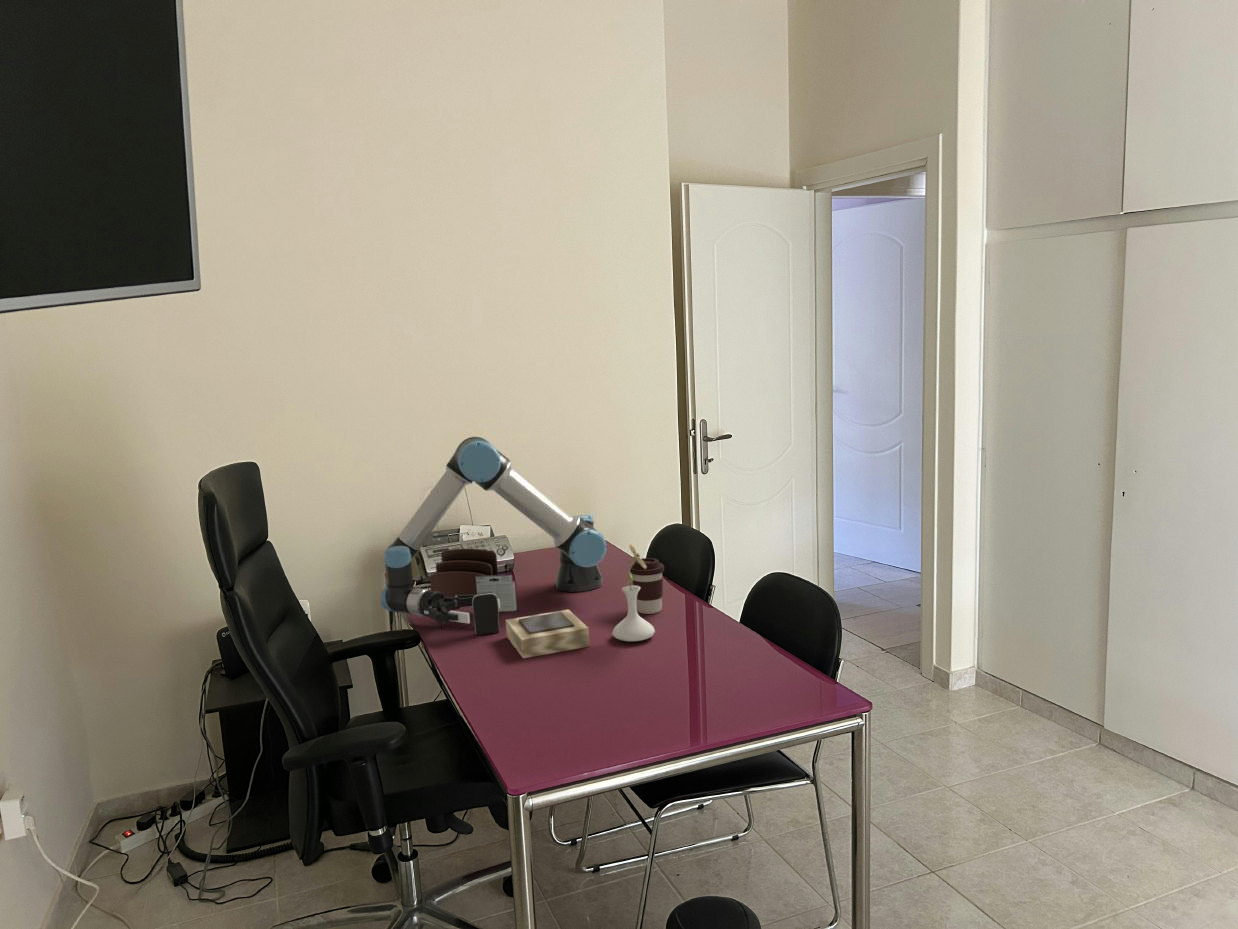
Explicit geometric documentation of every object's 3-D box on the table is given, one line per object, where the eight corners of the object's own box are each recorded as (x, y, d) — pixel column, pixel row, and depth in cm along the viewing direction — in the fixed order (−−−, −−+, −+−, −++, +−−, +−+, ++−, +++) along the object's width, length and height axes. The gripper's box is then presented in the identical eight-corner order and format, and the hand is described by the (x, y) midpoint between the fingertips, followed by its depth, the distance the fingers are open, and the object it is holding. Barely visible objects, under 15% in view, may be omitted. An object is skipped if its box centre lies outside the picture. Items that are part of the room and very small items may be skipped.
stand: (569, 626, 256) (568, 607, 255) (589, 646, 239) (588, 625, 238) (506, 637, 250) (505, 617, 249) (523, 658, 233) (521, 637, 232)
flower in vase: (651, 645, 237) (646, 552, 233) (608, 645, 239) (602, 552, 235) (659, 629, 249) (654, 540, 246) (618, 628, 252) (613, 540, 248)
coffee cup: (627, 614, 263) (624, 564, 261) (639, 604, 272) (636, 555, 270) (659, 617, 259) (657, 566, 257) (670, 606, 268) (668, 557, 266)
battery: (498, 628, 258) (495, 589, 256) (500, 632, 254) (497, 593, 252) (474, 632, 256) (470, 592, 254) (475, 636, 252) (471, 596, 250)
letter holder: (445, 589, 302) (441, 547, 300) (500, 590, 296) (497, 548, 294) (431, 597, 293) (427, 555, 290) (487, 599, 287) (484, 556, 285)
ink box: (517, 609, 275) (514, 572, 273) (515, 612, 272) (512, 574, 270) (479, 610, 276) (476, 573, 274) (477, 613, 273) (474, 575, 272)
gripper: (455, 603, 276) (512, 610, 265) (397, 629, 254) (456, 638, 244) (453, 579, 274) (510, 585, 264) (394, 603, 253) (453, 611, 242)
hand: (484, 610), depth 254 cm, fingers open, 13 cm apart
